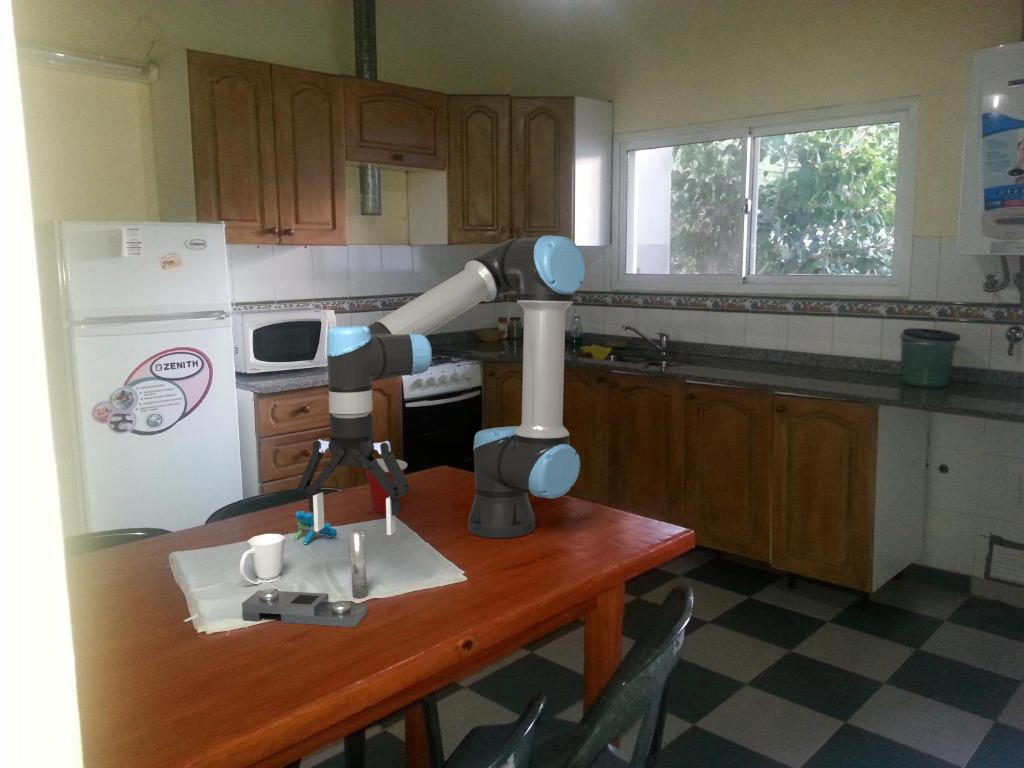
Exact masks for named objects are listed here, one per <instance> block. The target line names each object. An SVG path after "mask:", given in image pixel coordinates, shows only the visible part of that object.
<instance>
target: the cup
mask: <svg viewBox="0 0 1024 768" xmlns="http://www.w3.org/2000/svg"><path fill="white" fill-rule="evenodd" d="M246 543H247V546H248V547H247V548H248V550H246V551H245V552H244V553H243V554H242V557H241V559H240V562H239V563H240V564H239V573H240V577H241V578H242V579H243V580H245V581H246V582H248V583H250V584H255V585H260V584H259V583H261V582H272V581H276V580H278V579H279V578H280V577H281V576H280V574H281V573H282V569H283V564H284V555H285V546H286V545H285V543H286V537H285V536H283V535H282V534H281V533H264V534H259V535H255V536H252V537H251V538H250V539H248V540H247V541H246ZM248 555H250V560H251V563H252V564H251V565H252V567H253V571H254V573H255V575H256V576H257V578H256V581H254V580H251V579H249V578H248V577H247V576H246V574H245V562H246V560H247V557H248ZM273 577H274V578H273ZM262 578H270V579H267V580H266V579H265V580H264V579H262ZM271 578H272V579H271ZM280 579H281V578H280ZM280 579H279V580H280ZM257 580H258V581H257ZM279 580H278V581H279Z"/></svg>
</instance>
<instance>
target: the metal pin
mask: <svg viewBox="0 0 1024 768" xmlns="http://www.w3.org/2000/svg"><path fill="white" fill-rule="evenodd" d="M365 539H366V537H365V530H363V529H352V530H350V531H349V546H350V566H351V568H350V570H351V571H350V572H351V586H352V587H351V589H352V590H351V591H352V598H353V599H363V598H366V597H368V585H367V584H368V582H367V581H368V580H367V564H366V563H367V561H366V559H367V558H366V540H365Z"/></svg>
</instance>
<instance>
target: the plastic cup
mask: <svg viewBox="0 0 1024 768" xmlns="http://www.w3.org/2000/svg"><path fill="white" fill-rule="evenodd" d="M375 459H376V460H377V461H378V464H379V465H380V466H381V468H382V469H383V470H384V471H385V472H386V474H387V475H388V476H389V477H390V478H391V480H392V481H393V482H394V480H393V478H392V476H391V474H390V473H389V471H388V469H387V467H386V465H385V463H384V461H383V458H375ZM395 459H396V458H395ZM396 460H397V462H398V464H399V466H400V468H401V470H402V472H403V474H404V475H405V472H406V471H405V470H406V469H407V467H408V463H407V462H406V461H404V460H402V459H401V460H400V459H396ZM362 467H363V468H364V466H363V465H362ZM364 470H365V474H366V478H367V481H368V482H367V483H368V488H369V491H370V497H371V501H372V505H373V509H374V512H375V513H379V514H386V498H388V497H389V495H388V493H387V492H386V491H385V490H384V489H383V487H382V486H381V485H380V484H379V483H378V481H377V480H376V479H375V478H374V476H373V475H372V474H371V473H370V472H369V471H368V470H366V469H365V468H364ZM394 483H395V482H394Z"/></svg>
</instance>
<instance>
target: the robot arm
mask: <svg viewBox="0 0 1024 768" xmlns="http://www.w3.org/2000/svg"><path fill="white" fill-rule="evenodd" d="M585 261H586V260H585V257H584V255H583V253H582V251H581V249H580V248H579V247H578V246H577V244H576V243H575V242H574V241H573V240H572V239H570V238H568V237H566V236H560V235H542V236H541V235H540V236H532V237H515V238H510V239H508V240H506V241H503V242H501V243H498V244H497V245H496V246H493V247H492V248H489V249H488V250H486V251H484V252H483V253H481V254H480V255H478V256H476V257H474V258H472V259H471V260H469V261H468V262H467V263H465V266H464V269H463V270H462V271H460V272H458V273H457V274H455V275H453V276H451V277H450V278H448V279H447V280H445V281H443V282H442V283H441V282H440V283H439V284H438V285H436V286H435V287H433V288H431V289H429V290H428V291H426V292H425V293H422V294H421V295H419V296H417V297H416V298H414V299H413V300H411V301H409V302H408V303H406V304H403V305H402V306H401V307H398V308H397V309H395V310H394V311H391V312H390V313H388V314H387V315H385V316H383V317H382V318H380V319H378V320H376V321H375V322H373V323H371V324H368V326H367V325H366V326H365V325H338V326H337V325H336V326H331V328H329V330H328V331H327V334H326V335H327V336H326V351H325V353H326V355H325V356H327V357H326V361H327V377H328V378H327V379H328V380H327V381H328V412H329V413H330V414H331V416H330V417H329V435H330V441H327V440H325V439H324V438H319V439H318V440H317V439H316V441H314V442H313V444H312V453H311V456H310V458H309V460H308V463H307V465H306V467H305V469H304V471H303V473H302V476H301V479H300V481H299V483H298V485H297V491H298V492H304V493H306V494H307V497H308V498H307V499H308V511H309V513H313V516H314V531H317V532H318V531H320V530H321V529H322V528H324V524H325V509H324V506H325V505H324V504H325V503H324V492H323V491H322V492H321V491H320V489H322V487H323V486H324V484H326V482H327V480H328V479H330V477H331V475H333V473H334V472H335V470H336V469H337V468H338V467H339V466H340V465H341V466H342V468H343V467H344V468H345V467H346V468H347V467H348V468H349V467H354V468H360V467H363V466H364V467H363V468H364V470H365V469H366V470H368V471H369V472H370V473H371V474H372V475H373V476H374V478H375V479H376V480H377V481H378V483H379V484H380V485H381V486H382V487H383V489H384V490H385V491H386V492H387V493H388V495H389V497H388V498H386V513H385V516H386V519H385V520H386V535H387V536H392V535H393V534H394V533H395V532H396V531H397V523H396V519H397V518H396V517H397V516H398V515H400V513H401V496H405V495H406V494H408V493H409V492H410V491H411V487H410V484H409V483H408V480H407V479H406V477H405V473H404V474H403V472H402V470H401V468H400V466H399V464H398V462H397V460H398V459H397V460H396V456H395V455H394V453H393V446H392V442H391V441H390V440H385V441H382V442H376V441H375V440H374V416H373V414H371V412H372V411H373V379H378V378H387V377H388V378H389V377H391V378H392V377H403V376H404V377H405V376H410V377H412V376H414V375H419V374H423V373H426V372H427V371H428V370H429V368H430V367H431V364H432V360H433V357H432V356H433V354H432V353H433V350H432V346H431V343H430V341H429V340H428V338H427V337H426V336H428V335H429V334H431V333H432V332H434V331H436V330H437V329H439V328H441V327H442V326H444V325H445V324H447V323H448V322H450V321H452V320H453V319H455V318H457V317H458V316H461V314H463V313H464V312H466V311H468V310H470V309H471V308H473V307H475V306H476V305H478V304H480V303H481V302H486V303H487V302H492V301H493V300H495V299H496V298H499V297H501V296H504V295H510V294H516V302H517V304H518V305H519V306H520V307H521V308H522V309H523V342H522V343H523V346H522V349H523V350H522V353H523V354H522V389H521V390H522V393H521V397H522V399H521V400H522V401H521V424H520V425H518V426H517V425H515V426H512V425H511V426H503V427H501V426H500V427H492V428H491V427H490V428H487V429H482V430H479V431H477V432H476V434H474V440H473V460H474V461H473V462H474V464H473V465H474V483H475V484H474V487H475V494H474V495H475V497H474V499H473V503H472V506H471V510H470V513H469V516H468V531H469V532H470V533H471V534H473V535H475V536H479V537H482V538H487V539H510V538H511V539H512V538H517V537H518V538H519V537H521V536H525V535H528V534H531V533H533V532H534V531H535V529H536V517H535V513H534V510H533V508H532V505H531V503H530V500H529V497H528V494H530V495H532V496H535V497H537V498H545V499H556V498H560V497H562V496H564V495H566V493H568V492H569V491H570V490H571V488H572V487H573V486H574V485H575V483H576V481H577V479H578V478H579V475H580V469H581V459H580V455H579V453H577V451H576V449H575V448H574V447H572V445H570V432H569V431H568V429H567V428H566V427H565V426H564V425H563V419H564V417H563V415H564V414H563V413H564V380H565V378H564V377H565V376H564V374H565V347H566V346H565V345H566V343H565V341H566V340H565V337H566V312H567V309H568V308H569V307H570V306H571V305H573V304H574V293H575V292H577V291H578V290H579V289H580V288H581V284H583V283H584V282H585V281H584V280H585V277H586V271H587V269H586V262H585ZM328 449H329V451H330V453H331V454H332V455H333V457H332V458H331V459H330V461H328V463H327V465H326V467H325V468H324V469H323V470H322V471H321V472H320V474H319V475H318V476H317V477H316V479H315V480H314V482H313V483H312V480H313V479H314V476H315V474H316V472H317V470H318V468H319V466H320V463H321V460H322V458H323V456H324V453H326V452H327V451H328ZM375 451H377V452H378V455H380V456H381V459H383V461H384V463H385V465H386V467H387V469H388V471H389V473H390V474H391V476H392V478H393V480H394V482H395V483H394V482H393V481H392V480H391V478H390V477H389V476H388V475H387V474H386V472H385V471H384V470H383V469H382V468H381V466H380V465H379V464H378V461H377V460H376V459H377V458H376V457H375V456H374V455H373V454H374V452H375Z"/></svg>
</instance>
